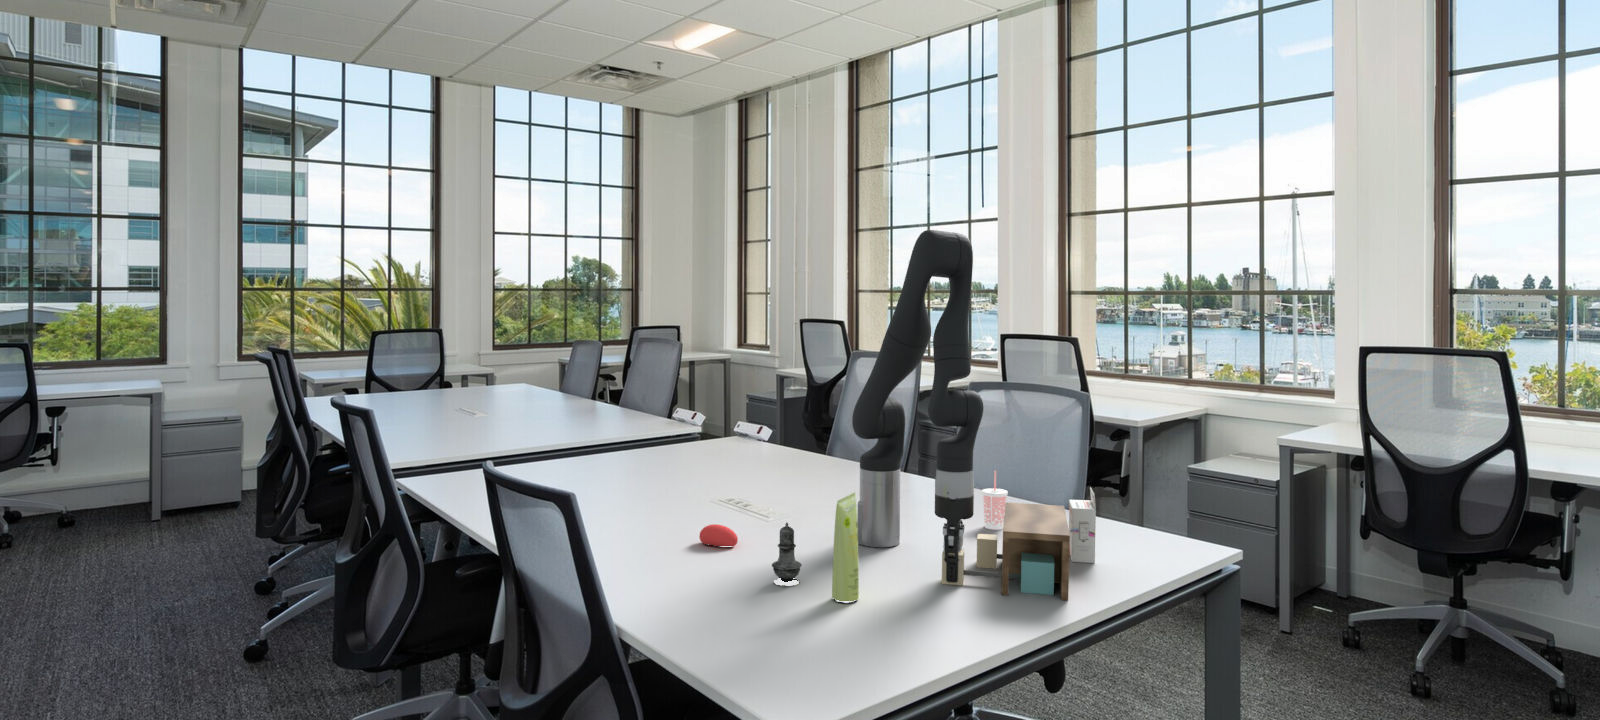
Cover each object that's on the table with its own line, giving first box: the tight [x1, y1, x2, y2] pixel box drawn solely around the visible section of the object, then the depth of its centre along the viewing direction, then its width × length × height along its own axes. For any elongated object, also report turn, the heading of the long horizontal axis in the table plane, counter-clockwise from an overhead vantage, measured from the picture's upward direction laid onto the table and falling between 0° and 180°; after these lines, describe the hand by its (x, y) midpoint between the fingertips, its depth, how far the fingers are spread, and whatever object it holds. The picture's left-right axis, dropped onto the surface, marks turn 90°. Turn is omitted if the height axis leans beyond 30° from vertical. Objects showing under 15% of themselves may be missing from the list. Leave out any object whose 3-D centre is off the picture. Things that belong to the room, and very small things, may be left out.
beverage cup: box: [981, 470, 1009, 530], centre depth 215 cm, size 6×6×14 cm
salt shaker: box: [771, 522, 803, 582], centre depth 172 cm, size 6×6×12 cm
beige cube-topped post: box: [976, 533, 1002, 569], centre depth 183 cm, size 15×6×6 cm, turn 76°
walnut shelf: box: [1001, 501, 1070, 601], centre depth 175 cm, size 12×24×12 cm, turn 166°
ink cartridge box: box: [1068, 487, 1097, 564], centre depth 190 cm, size 9×5×15 cm, turn 168°
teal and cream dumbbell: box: [941, 548, 1055, 596], centre depth 171 cm, size 21×6×6 cm, turn 76°
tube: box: [831, 491, 860, 601], centre depth 162 cm, size 6×5×20 cm
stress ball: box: [699, 524, 739, 547], centre depth 198 cm, size 5×9×6 cm, turn 52°
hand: (952, 577), depth 173 cm, fingers closed on teal and cream dumbbell, 4 cm apart
